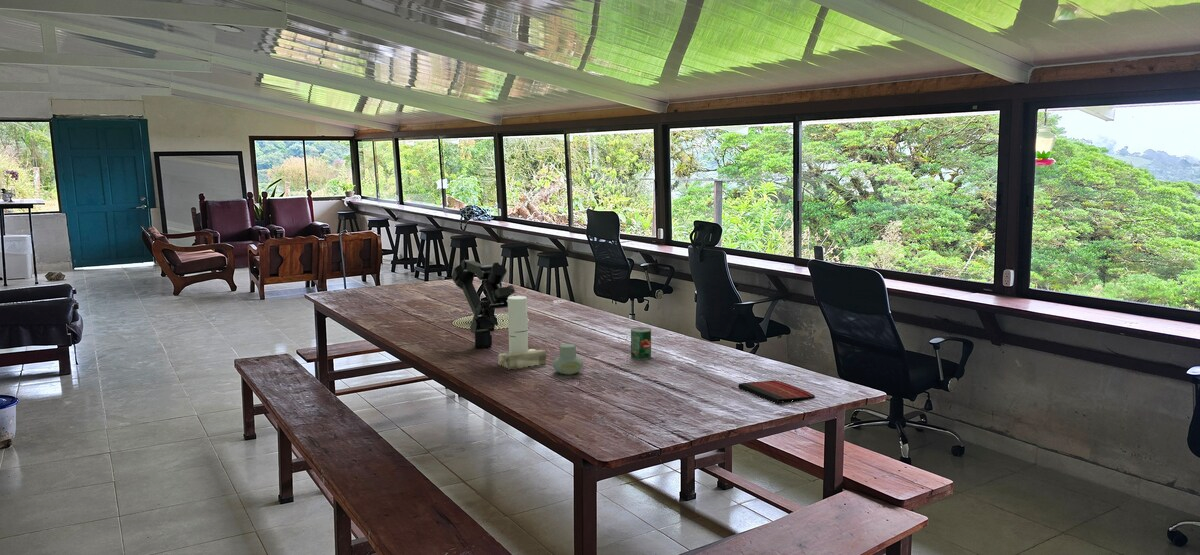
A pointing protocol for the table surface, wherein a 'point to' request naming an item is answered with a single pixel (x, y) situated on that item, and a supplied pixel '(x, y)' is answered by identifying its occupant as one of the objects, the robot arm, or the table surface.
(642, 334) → the canned tomato
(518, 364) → the wooden holder
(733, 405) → the table surface
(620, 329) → the table surface
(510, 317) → the cylindrical container
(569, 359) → the air freshener
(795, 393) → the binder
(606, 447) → the table surface
